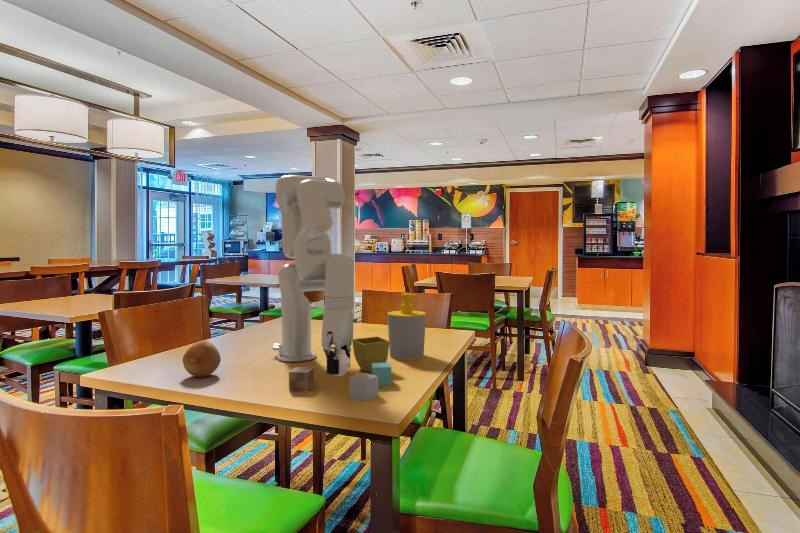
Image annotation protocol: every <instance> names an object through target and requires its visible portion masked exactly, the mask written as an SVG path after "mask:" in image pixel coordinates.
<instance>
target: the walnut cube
mask: <svg viewBox="0 0 800 533" xmlns="http://www.w3.org/2000/svg"><path fill="white" fill-rule="evenodd" d="M313 386H314V387H315V367H308V366H307V367H306V366H305V367H304V366H296V367H294V368H293V369H291V370H289V371H288V391H289V390H290V391H289V392H303V391H308V392H309V391H311V389H313V388H314V387H313ZM312 387H313V388H312Z"/></svg>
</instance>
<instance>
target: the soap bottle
mask: <svg viewBox="0 0 800 533" xmlns="http://www.w3.org/2000/svg"><path fill="white" fill-rule="evenodd" d="M400 296H402V297H403V298H402V299H403V302H402V303H401V304H400V310H393V311H388V312H387V313H386V314H387V315H386V316H387V317H386V318H387V328H388V329H387V330H388V341H389V350H388V352H389V357H390V358H391V359H393V360H398V361H414V360H420V359H423V358H424V355H425V338H426V322H427V321H426V320H427V314H426V312H425V311H420V310H413V304H412V303H411V297H414V298H415V297H416V298H417V297H418V295H417V294H415V293H414V294H413V293H408V292H407V293H401V294H400Z"/></svg>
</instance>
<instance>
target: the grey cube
mask: <svg viewBox="0 0 800 533" xmlns="http://www.w3.org/2000/svg"><path fill="white" fill-rule="evenodd" d="M378 396H379V386H378V376H376V375H372V374H370V373H365V372H361V373H359V374H356V375H352V376H350V377H349V398H351V399H355V400H360V401H364V402H367V401H370V400H372V399H374V398H376V397H378Z"/></svg>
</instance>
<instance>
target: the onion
mask: <svg viewBox="0 0 800 533" xmlns="http://www.w3.org/2000/svg"><path fill="white" fill-rule="evenodd" d="M221 360H222V359H221V356H220V352H219V350H218V348H217V347H216V346H215V345H214V344H213V343H211V342H210V341H209V342H208V341H206V340H200V341H197V342H195V343H193V344H192V345H191V346H190V347H189V348H188V349H187V350H186V351H185V353H184V354H183V356H182V364H183V367H184V369H185V371H186V372H187V373H188V374H189V375H190V376H193V377H197V378H201V379H202V378H206V377H208V376H210V375H211V374H213V373H214V372H215V371H217V369H218V367H219V366H220V364H221Z"/></svg>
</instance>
